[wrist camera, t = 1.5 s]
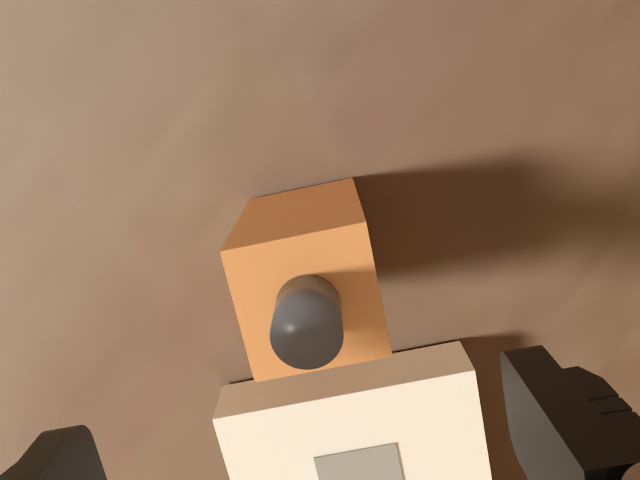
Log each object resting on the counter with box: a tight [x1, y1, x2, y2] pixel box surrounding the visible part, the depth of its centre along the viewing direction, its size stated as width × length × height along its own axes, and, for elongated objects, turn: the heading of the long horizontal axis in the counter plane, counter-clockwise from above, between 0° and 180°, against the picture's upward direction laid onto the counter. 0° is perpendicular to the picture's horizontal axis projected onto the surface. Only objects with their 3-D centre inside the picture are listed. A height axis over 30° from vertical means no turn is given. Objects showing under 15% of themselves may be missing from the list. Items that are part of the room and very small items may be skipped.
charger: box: [220, 178, 392, 382], centre depth 19 cm, size 4×4×9 cm
